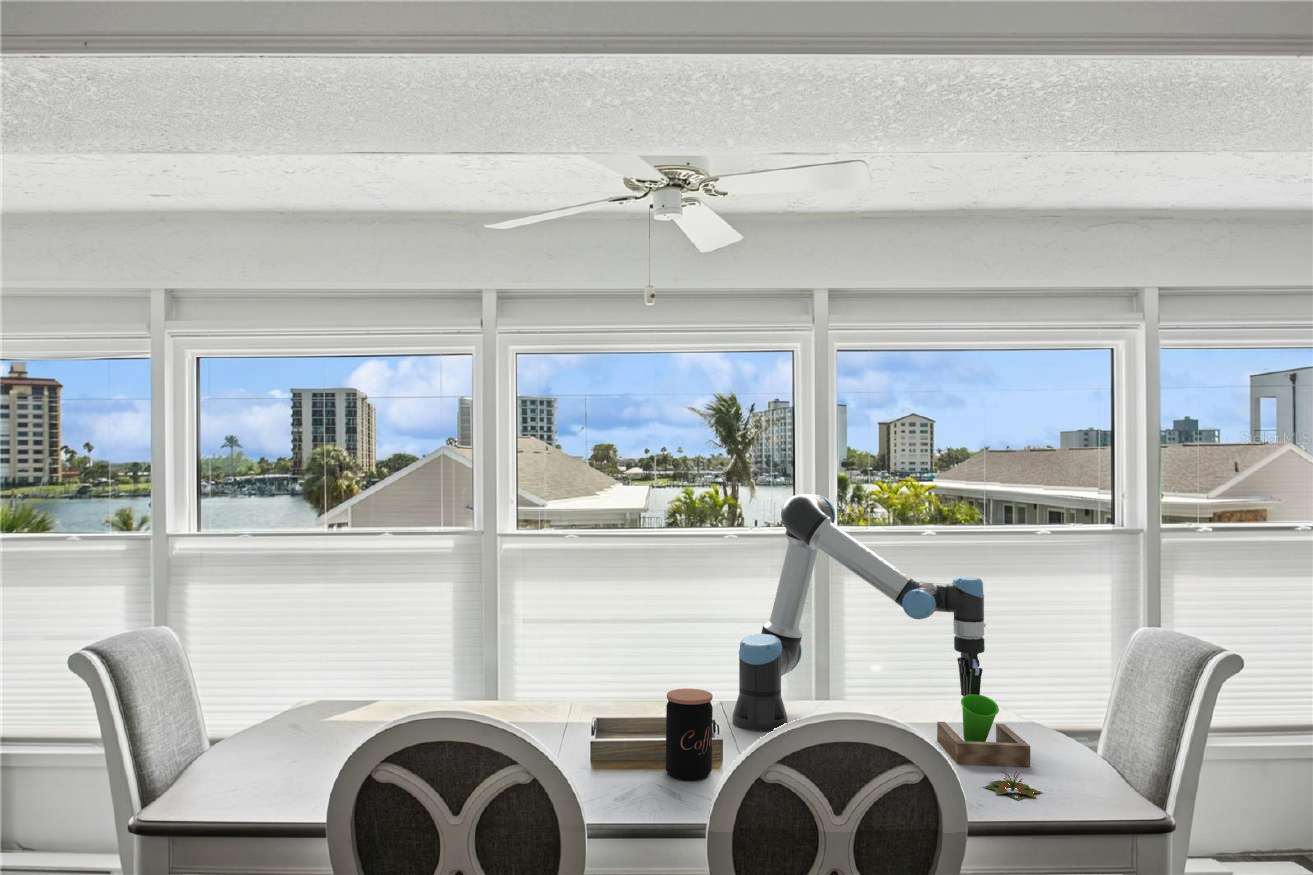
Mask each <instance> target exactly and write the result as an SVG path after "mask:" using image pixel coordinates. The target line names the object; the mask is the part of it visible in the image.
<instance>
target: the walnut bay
mask: <svg viewBox="0 0 1313 875" xmlns="http://www.w3.org/2000/svg"><path fill="white" fill-rule="evenodd" d="M936 726H937V727H936V728H937V729H936V734H937V735H936V742H938V744H940V747H942V748H943V750H944V751H945V752H946V753H947V754H948V755H949V756H950V758H951V759H952V761H954V762H955V764H956V765H958V766H979V767H980V766H984V767H985V766H986V767H1007V766H1022V767H1021V768H1031V745H1030V744H1028V743H1027V742H1026V741H1025V740H1024V739H1023V738H1022V737H1020V736H1019V735H1018V734H1017V733H1015V732H1014V731H1013V730H1012V729H1011V728H1010V727H1009V726H1008V725H1006V724H1005V723H996V724H995V742H993V741H986V742H973V741H965V740H964V739H962V738H961V737H960V736H959V735H958V734H957V733H956V731H954V730H953V728H951V726H949V724H948V723H947V722H946V721H937V722H936ZM1023 766H1024V767H1023Z"/></svg>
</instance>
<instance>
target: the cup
mask: <svg viewBox="0 0 1313 875" xmlns="http://www.w3.org/2000/svg"><path fill="white" fill-rule="evenodd" d="M960 704H961V706H962V708H961V709H962V731H963V733H962V734H963V741H973V742H987V739H988V736H989V734H990V731H991V728H992V726H993V723H994V721H995V718H996V716H997V715H998V713H999V711H1000V708H999V705H998V704H997V703H996V701H994V700H993V699H992V698H990V697H987V696H985V695H983V694H980V695H978V694H969V695H966V696H964V697H963V696H962V698H961V700H960Z"/></svg>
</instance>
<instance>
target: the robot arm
mask: <svg viewBox="0 0 1313 875" xmlns="http://www.w3.org/2000/svg"><path fill="white" fill-rule="evenodd" d="M780 518H781V522H782V525H783V527H784V528H785V529H786V531H785V537H786V539H787V540H788V544H787V548H786V552H785V557H784V560H783V565H782V568H781V573H780V577H779V581H778V584H777V585H778V586H777V588H776V594H775V598H774V602H773V604H772V605H773V606H772V609H771V613H770V619H769V620H768V621H766V622H764V623H763V624H762V629H761V633H759V634H758V633H755V634H753V635H747V636H745V637H743V638H742V639H741V640H740V642H739V649H738V657H739V658H738V660H739V663H738V666H739V667H738V669H739V670H738V672H739V673H738V674H739V675H738V680H739V681H738V683H739V684H738V690H739V692H738V697H737V700H736V702H735V706H734V708H733V712H732V723H733V725H735V726H737V727H738V728H742V729H744V730H750V731H757V732H758V731H761V732H762V731H763V732H768V731H769V732H770V731H771V730H772V731H774V730H773V729H774V728H777V727H779V726H781V725H783V724H784V723H787V724H788V714H787V711H786V710H787V709H786V708H785V704H784V702H783V701H784V700H783V699H782V698H783V697H782V676H785V675H786V674H788V673H790V672H792V671H793V670H794V669H795V668H796V667H797V665H798V664H799V663H800V660H801V658H802V654H803V649H802V645H801V643H802V642H801V641H802V637H803V633H802V631H801V630H800V628H799V627H800V624H801V621H802V620H801V619H802V615H803V612H804V608H805V604H806V600H807V595H808V591H809V587H810V584H811V579H812V575H813V570H814V567H815V562H816V559H817V555H818V551H819V550H821V551H823V553H826V554H827V555H828V556H830V557H831V558H832V559H834V560H835V561H837V562H838V563H840V564H841V565H842V566H844V567H845V568H846V569H848V570H849V571H851V572H852V573H853V574H855V575H857V576H858V577H859V578H860V579H862V580H863V581H865V582H867V584H869V585H870V586H872V587H873V588H875V589H876V590H877V591H879V592H880V593H882V594H883V595H884V596H885V597H888V598H889V599H890V600H891V601H893V602H894V603H896V604H897V605H898V606H900V607H901V608H902V609H903V611H904V613H905V615H907V616H908V617H909V618H911V619H914V620H924V619H927V618H930V617H931V616H932V615H933V614H935V612H940V613H942V612H943V613H953V634H954V635H955V636H953V644H954V645H953V648H954V650H955V651H956V652H957V653H960V657H957V665H958V673H959V684H960V685H959V686H960V695H961V696H962V698H963V697H964V696H966V695H969V694H978V695H981V684H982V674H983V668H982V667H980V659H979V658H978V657H979V656H978V655H979V654H982V653H984V652H985V638H984V637H983V636H985V628H986V626H987V624H986V623H985V595H984V582H983V581H982V579H981V578H979V577H975V576H956V577H954V578H953V580H952V582H951V583H941V582H940V583H938V582H924V581H916V580H914V579H913V578H912V577H910V576H909V575H907V574H906V573H905V572H903V571H901V570H900V569H899V568H898V567H896V566H895V565H893V564H892V563H890V562H889V561H887V560H886V559H884V558H883V557H881V556H880V555H879V554H877V553H876V552H874V551H873V550H871V549H870V548H868V547H867V546H865V545H864V544H863V543H861V542H860V541H858V540H857V539H855V538H854V537H852V536H851V535H849V534H848V533H847V532H846V531H844V530H842V529H841V528H840V527H838V526H837V525H835V520H836V511H835V508H834V505H833V503H832V502H831V501H830V500H829V498H827V497H825V496H822V495H821V494H820V495H819V494H817V493H806V494H796V495H793V496H791V497H789V498H788V499H787V500H786V501H785V502H784V503H783V506H782V508H781V514H780Z"/></svg>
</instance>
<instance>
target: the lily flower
mask: <svg viewBox="0 0 1313 875" xmlns="http://www.w3.org/2000/svg"><path fill="white" fill-rule="evenodd" d="M1001 773H1002V774H1005V775H1004V777H1002V779H1003V780H998V779H997V780H992V781H991V783H992V784H987V785H985V786H983V788H985V789H990V790H994V791H995V793H996V794H995V796H1000V795H1004V794H1006V795H1007V796H1009V797H1011V798H1013V799H1015V800H1016V801H1017V802H1019V801H1020V800H1022V799H1023V798H1024V797H1025V795H1026V796H1028V797H1030V798H1033V799H1035V800H1037V797H1036V795H1035V794H1040V793H1041V794H1042V793H1044V792H1043V791H1040V790H1037V789H1036V788H1035V789H1034V788H1032V787H1029V785H1028V784H1025V783H1022V780H1024V778H1020V780H1018V782H1017V779H1018V778H1019V777H1020V776H1019V775H1020V774H1021V772H1018V773H1017V770H1015V773H1014V775H1013V777H1011V776H1012V774H1013V773H1012V772H1011V774H1010V775H1009V773H1008V772H1007V771H1006V770H1005V769H1003V771H1001ZM1008 783H1009V784H1010V785H1009V784H1008ZM1005 787H1006V789H1007V790H1006V789H1005ZM1008 788H1011V789H1010V790H1012V792H1015V790H1017V789H1018V790H1017V793H1018V794H1019V795H1018V796H1014V795H1013V793H1012V792H1011V791H1008ZM1015 788H1017V789H1015ZM1019 792H1021V793H1019ZM1033 792H1034V793H1033ZM1020 794H1021V795H1020ZM1015 797H1016V798H1015ZM1017 797H1018V798H1017Z"/></svg>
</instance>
